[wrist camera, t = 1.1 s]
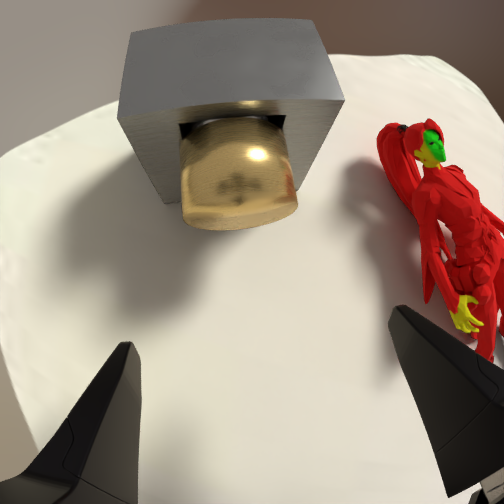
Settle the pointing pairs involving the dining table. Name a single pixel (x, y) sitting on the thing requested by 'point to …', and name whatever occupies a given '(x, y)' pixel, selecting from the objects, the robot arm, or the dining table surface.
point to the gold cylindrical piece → (235, 174)
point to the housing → (225, 88)
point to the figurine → (457, 221)
